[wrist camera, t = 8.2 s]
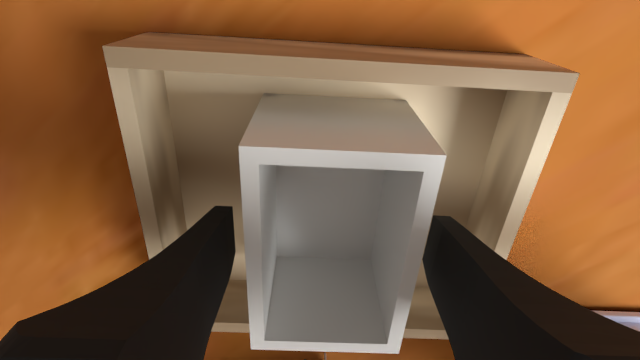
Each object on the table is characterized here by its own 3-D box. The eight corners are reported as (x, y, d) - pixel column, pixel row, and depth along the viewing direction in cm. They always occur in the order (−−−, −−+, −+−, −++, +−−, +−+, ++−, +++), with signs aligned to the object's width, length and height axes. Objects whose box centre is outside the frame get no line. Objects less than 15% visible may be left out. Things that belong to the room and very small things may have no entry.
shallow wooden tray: (452, 288, 19) (474, 340, 17) (187, 278, 19) (164, 329, 16) (525, 54, 14) (579, 73, 11) (147, 31, 13) (102, 45, 10)
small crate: (378, 261, 18) (398, 353, 13) (267, 257, 18) (250, 349, 13) (405, 100, 14) (446, 155, 9) (263, 92, 14) (238, 146, 9)
